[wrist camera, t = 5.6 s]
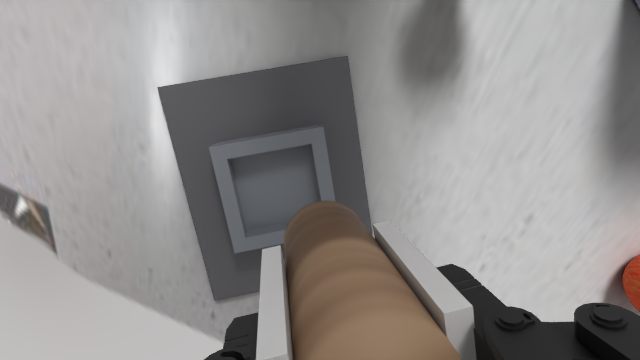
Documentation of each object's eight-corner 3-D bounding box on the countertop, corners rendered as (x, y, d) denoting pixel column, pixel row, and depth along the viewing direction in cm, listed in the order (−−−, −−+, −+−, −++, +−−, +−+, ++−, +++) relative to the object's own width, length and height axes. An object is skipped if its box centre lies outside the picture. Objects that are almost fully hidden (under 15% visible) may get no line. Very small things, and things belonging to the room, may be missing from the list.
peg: (275, 211, 17) (281, 352, 8) (357, 192, 18) (459, 305, 8) (293, 285, 18) (318, 494, 9) (370, 266, 19) (477, 447, 9)
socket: (159, 87, 31) (148, 87, 28) (346, 56, 32) (353, 53, 29) (215, 297, 36) (210, 314, 33) (374, 262, 37) (383, 276, 34)
